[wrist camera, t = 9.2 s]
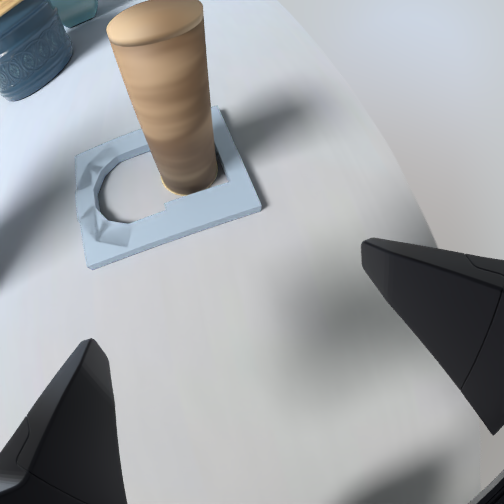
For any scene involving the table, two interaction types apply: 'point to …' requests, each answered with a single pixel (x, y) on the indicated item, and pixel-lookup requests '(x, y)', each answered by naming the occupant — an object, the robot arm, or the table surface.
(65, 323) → the table surface
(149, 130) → the tan peg
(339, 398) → the table surface
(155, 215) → the keyhole plate
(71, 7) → the flower pot
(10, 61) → the canister
